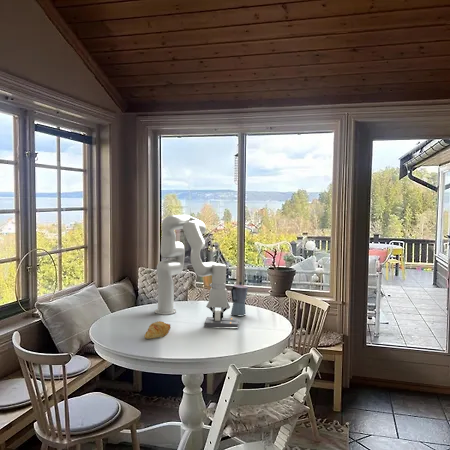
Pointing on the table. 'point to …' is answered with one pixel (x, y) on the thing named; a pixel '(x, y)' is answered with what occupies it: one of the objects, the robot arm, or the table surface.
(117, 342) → the table surface
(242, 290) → the moka pot
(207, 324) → the fader console
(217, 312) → the fader knob
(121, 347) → the table surface
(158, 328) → the croissant
